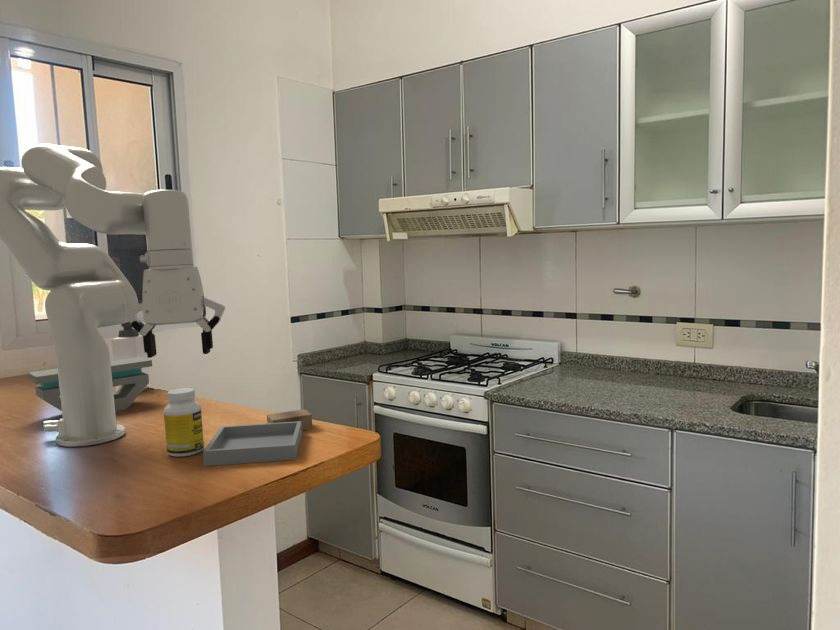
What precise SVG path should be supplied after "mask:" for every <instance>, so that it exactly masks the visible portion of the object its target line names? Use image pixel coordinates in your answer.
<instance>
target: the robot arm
mask: <svg viewBox="0 0 840 630" xmlns="http://www.w3.org/2000/svg"><path fill="white" fill-rule="evenodd" d="M20 162H21V165H20V166H21V167H12V166H11V167H9V166H8V167H7V166H2V167H1V166H0V240H1V242H2V243H4V245H5V246H6V247H7V248H8V250H9V251H10V253H11V254H12V256H13V257H14V259H15V260H16V261H17V262H18V264H19V266H20V267H21V268H22V269H23V272H25V273H26V275H27V276H28V278H29V279H30V280H31V281H32V283H33V284H34V285H35V286H36V287H38V289H40V290H44V291H49V292H48V293H47V295H46V298H45V301H44V307H45V308H44V309H45V313H46V318H47V321H48V323H49V326H50V329H51V333H52V334H51V335H52V338H53V344H54V350H55V359H56V365H57V367H56V369H57V368H58V378H59V387H60V398H61V407H62V411H61V415H62V418H60V419H59V420H55V419H53V420H52V419H51V420H49V419H48V420H44V421H43V423H42V428H43V432H44V433H45V432H46V433H49V432H56V433H58V434H57V435H56V437H55V443H56V445H58V446H61V447H69V448H71V447H73V448H78V447H88V446H94V445H99V444H103V443H108V442H111V441H114V440H117V439H119V438H121V437H122V436H124V435H125V434H126V427H125V426H124V425H123V424H117V416H116V411H115V404H114V393H115V392H114V387H113V383H112V372H111V361H112V360H111V353H110V349H109V345H108V343H107V341H106V340H105V339H104V337H103V336H102V335H101V333H100V332H99V331H98V329H99V328H104V327H111V326H113V327H114V326H118V325H121V324H123V323H126V322H130V323H131V326H132V329H135V330H137V331H138V333H139V335H142V336H143V343H144V352H145V353H147V357H148V359H151V358H153V357H156V355H157V345H156V344H157V343H156V335H155V333H153V330H154V329H155V328H156V327H157V326H164V325H180V324H181V325H182V324H194V323H196V324H197V325H198V326H199V327H200V328H201V329H202V332H201V333H200V336H201V348H202V349H201V350H202V354H204V355H208V354H209V353H211V349H213V348H214V343H213V329H214V328H215V327H217V325H218V324H219V323H220V321H222V320H221V319H222V317H223V315H224V312H225V310H226V306H225V305H223V304H221V303H219V302H217V301H214V300H213V299H209V298H208V297H207V298H206V296H205V294H204V293H205V292H204V287H203V283H202V279H201V274H200V271H199V268H198V267H197V266H194V263H195V262H194V254H193V252H194V251H193V243H192V232H191V231H192V230H191V221H190V209H189V208H190V207H189V200H188V199H189V198H188V196H187V194H186V193H185V192H183V191H182V190H177V189H156V190H155V189H154V190H150V191H147V192H144V193H141V192H140V193H138V192H129V191H110V190H107V178H106V176H105V174H104V170H103V165H102V163H101V160H100V159H99V157H98V156H97V155H96V154H95V153H94V152H92V151H90V150H88V149H85V148H82V147H76V146H67V145H58V144H52V143H39V144H36V145H35V144H34V145H33V146H30V147H29V148H27V149H26V151H24V153H23V155H22V156H21V161H20ZM65 208H66V210H67V212H68V214H69V216H70V217H71V218H72V219H73V220H74V221H76V222H78V223H79V224H81V225H82V226H85V227H86V228H88V229H89V230H92V231H94V232H96V233H99V234H103V235H135V236H136V235H145V239H146V241H145V242H146V250H147V251H146V253H145V254H144V255H142V254H141V255H140V256H139V262H140V263H141V264H146V265H147V267H148V269H144V270H143V276H142V301H141V302H139V300H138V295H137V293H136V290H135V289H134V287H133V286H132V284H131V283H130V281H129V279H128V278H127V277H126V276H125V275H124V273H123V272H122V271H121V270H120V268H119V267H118V265H117V264H116V263H115V262H114V260H113V259H112V257H111V256H109V254H108V252H106V250H105V249H102V248H101V247H99V246H98V245H95V244H90V243H67V242H63V241H61V240H59V238H57V237H56V236H55V234H54V233H53V232H52V230H51V229H50V227H49V226H48V225H47V224H46V223H44V222H43V220H41V219H39V218H38V217H36V216H34V215H33V214H31V213H29V212H27V211H59V210H63V209H65ZM207 308H209V309H212V310H214V315H213V317H211V319H210V320H209V319H208V318H206V316H207ZM141 312H142V316H143V317H142V318H143V322H144V323H145V324H144V323H143V322H142V321H140V320H139V318H138V314H140V313H141Z"/></svg>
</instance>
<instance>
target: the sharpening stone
mask: <svg viewBox="0 0 840 630" xmlns="http://www.w3.org/2000/svg"><path fill="white" fill-rule="evenodd" d="M110 361H111V372H112V383H113V388H114V387H115V388H116V386H120V388H119V389H118V390H117V391H116V390H115V392H113V393H114V404H115V412H118V411H122V410H123V411H124V410H127V409H128V408H129V407H130V406H131V404H133V403H134V401H136V399H137V398H138V396H139V395H140V394H141V393H142V391H144V390H145V389H144V388H145V387H146V386H147V385H148V384H149V376H150V375H149V376H148V374H146V373H144V372H142V369H141V368H145V367H149V368H151V367H153V360H152V359H151V358H148V359H146V358H143V357H136V358H129V359H122V360H114V361H113V360H110ZM27 375H28V380H29V381H31V382H32V383H34V384H36V385H35V386H34V389H35V396H37V397H38V398H40V399H41V400H42V401H44V402H46V403H48V404H49V405H51V406H52V407H54V408H56V409H57V410H59V411H60V412H62V407H61V397H60V387H59V378H58V368H57V367H56V368H51V369H47V370H46V369H45V370H37V371H29V372H27ZM143 389H144V390H143Z"/></svg>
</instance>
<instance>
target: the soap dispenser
mask: <svg viewBox="0 0 840 630" xmlns="http://www.w3.org/2000/svg"><path fill="white" fill-rule="evenodd" d="M120 325H121V327H122V328H123V329H119V331H118V336H117V337H114V338H111V339H110V340H111V350H112V351H111V352H112V361H114V360H122V359H129V358H136V357H143V358H146V359H149V358H148V357H147V353H145V352H144V343H143V336H142V335H140V333H139V332H138V331H137V330H135V329H134V328H133V327H132V326H131V323H130V322H126V323H123V324H120ZM141 369H142V372H144V373H146V374H148V376H149V384H148V385H147V386H146V387H145V388H144V389H143V391H144V390H146V389H148V388H149V387H151V378H150V367H145V368H141ZM119 388H120V386H115V392H116V391H117V390H118V389H119Z"/></svg>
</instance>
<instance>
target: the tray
mask: <svg viewBox="0 0 840 630" xmlns="http://www.w3.org/2000/svg"><path fill="white" fill-rule="evenodd" d="M302 437H303V430H302V421H296V422H280V423H251V424H235V425H223V426H222V425H221V426H220V427H219V429H218V430H217V431H216V433H215V434H214V436H213V437H212V438H211V440H210V441H209V443H208V444H207V445H206V446H205V449H204V448H203V450H202V454H203V466H204V467H209V466H210V467H211V466H225V465H237V464H251V463H253V464H254V463H263V462H264V463H265V462H266V463H267V462H280V461H292V460H295V461H296V460H297V456H298V452H299V448H300V445H301V441H302Z"/></svg>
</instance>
